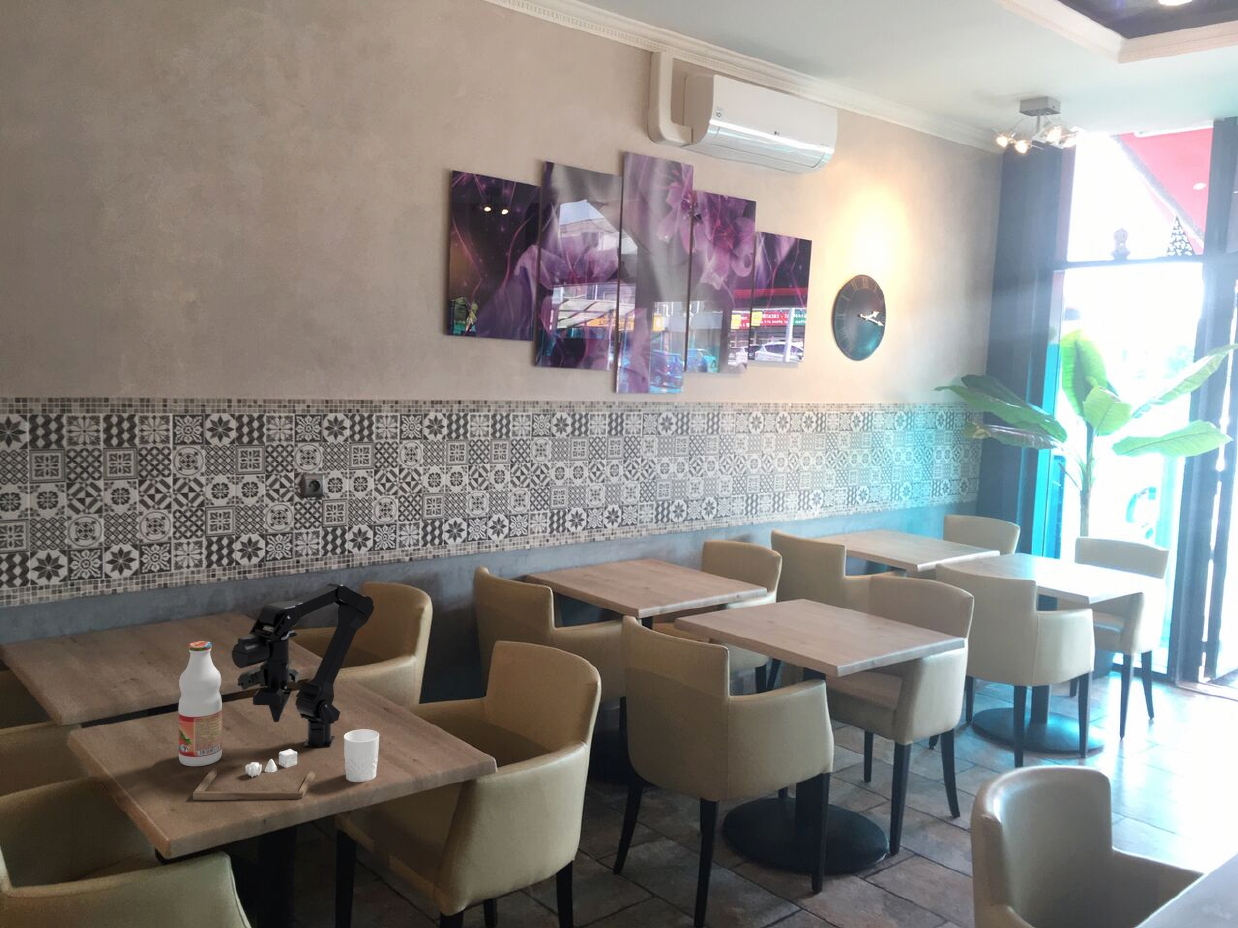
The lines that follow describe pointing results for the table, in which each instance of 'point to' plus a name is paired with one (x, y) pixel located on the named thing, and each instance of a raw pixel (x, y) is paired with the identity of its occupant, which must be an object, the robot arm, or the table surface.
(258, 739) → the table surface
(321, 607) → the robot arm
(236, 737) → the table surface
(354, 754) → the white cup
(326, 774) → the table surface
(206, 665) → the fruit juice
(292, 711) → the table surface
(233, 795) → the rail corral
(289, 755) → the game pieces
